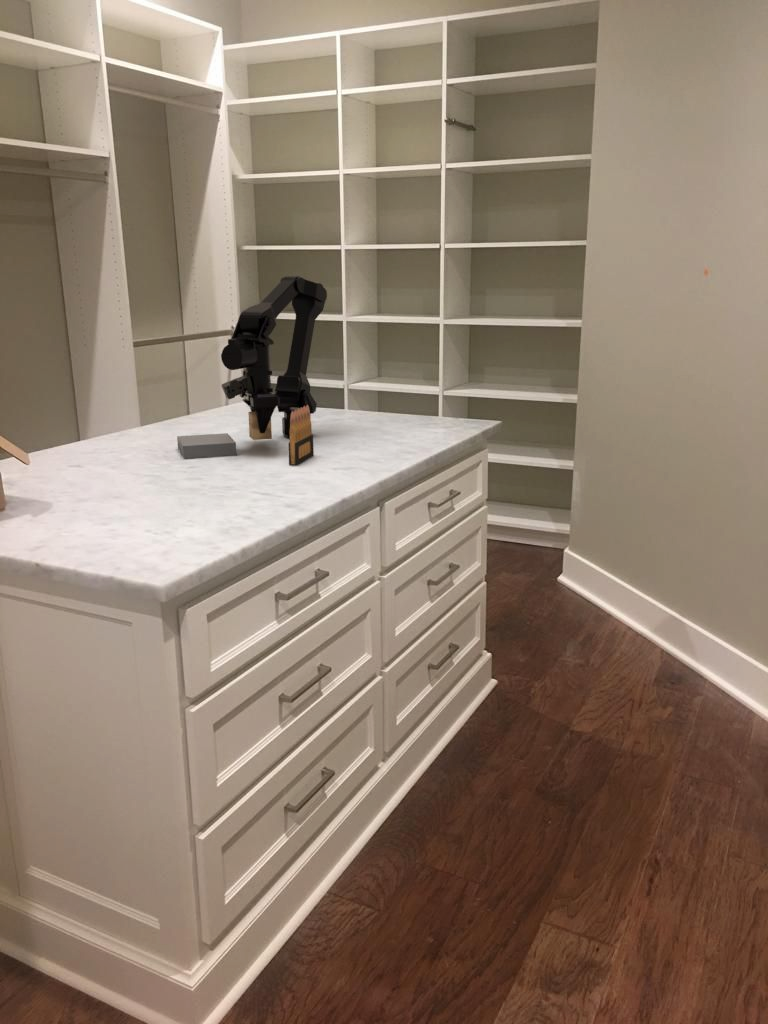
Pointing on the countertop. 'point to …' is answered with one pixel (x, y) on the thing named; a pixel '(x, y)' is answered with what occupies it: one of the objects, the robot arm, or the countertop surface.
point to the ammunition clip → (300, 436)
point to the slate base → (206, 445)
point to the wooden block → (254, 428)
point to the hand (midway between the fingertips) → (260, 431)
